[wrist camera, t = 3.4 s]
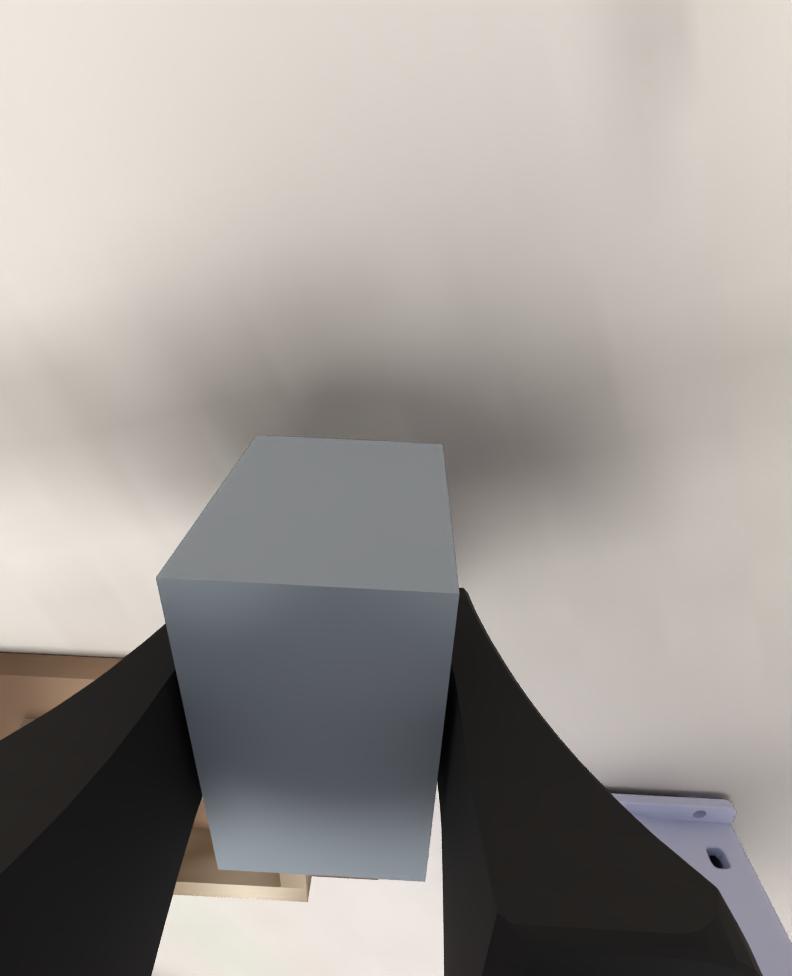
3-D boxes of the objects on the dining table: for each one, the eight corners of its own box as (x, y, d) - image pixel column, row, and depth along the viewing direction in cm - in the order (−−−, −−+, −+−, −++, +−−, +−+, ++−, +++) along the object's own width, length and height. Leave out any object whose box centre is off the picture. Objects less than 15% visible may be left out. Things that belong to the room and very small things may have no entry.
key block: (442, 444, 11) (459, 593, 7) (422, 678, 15) (425, 881, 10) (256, 434, 11) (155, 577, 7) (277, 670, 15) (218, 869, 10)
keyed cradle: (386, 672, 19) (382, 746, 17) (379, 855, 25) (375, 933, 22) (-50, 649, 19) (-124, 720, 17) (41, 837, 25) (-3, 911, 22)
